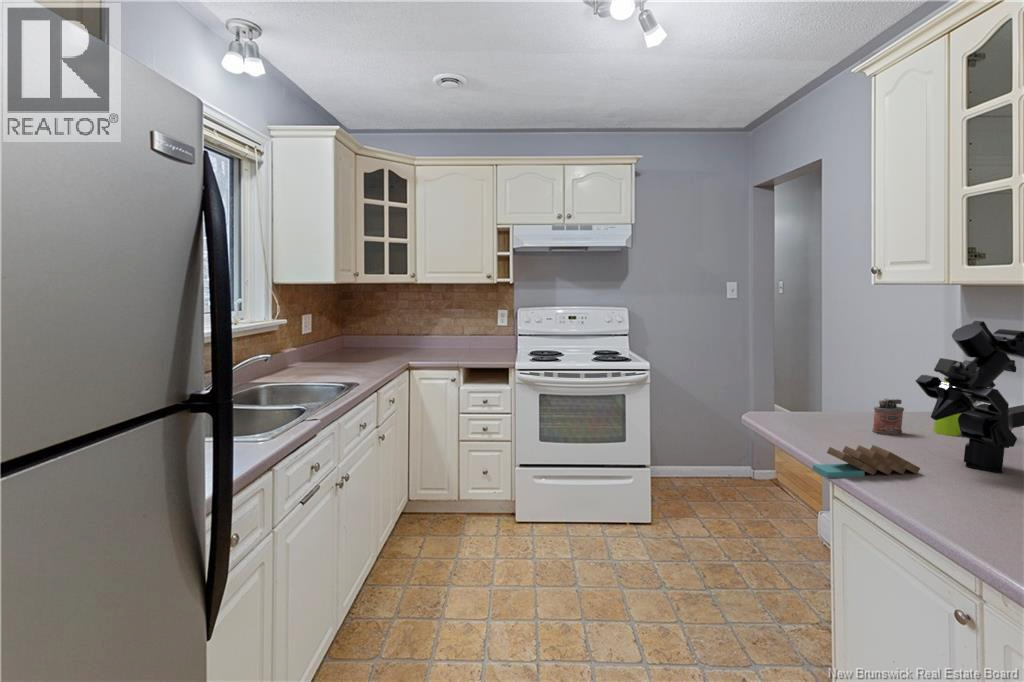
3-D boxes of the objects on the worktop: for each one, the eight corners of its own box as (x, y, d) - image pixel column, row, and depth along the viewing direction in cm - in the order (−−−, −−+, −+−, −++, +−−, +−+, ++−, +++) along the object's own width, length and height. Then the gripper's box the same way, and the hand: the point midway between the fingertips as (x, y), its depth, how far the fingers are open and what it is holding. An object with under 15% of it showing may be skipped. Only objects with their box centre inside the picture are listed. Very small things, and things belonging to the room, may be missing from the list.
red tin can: (877, 434, 153) (880, 400, 151) (869, 431, 156) (871, 397, 155) (905, 434, 153) (908, 400, 152) (896, 431, 156) (899, 397, 155)
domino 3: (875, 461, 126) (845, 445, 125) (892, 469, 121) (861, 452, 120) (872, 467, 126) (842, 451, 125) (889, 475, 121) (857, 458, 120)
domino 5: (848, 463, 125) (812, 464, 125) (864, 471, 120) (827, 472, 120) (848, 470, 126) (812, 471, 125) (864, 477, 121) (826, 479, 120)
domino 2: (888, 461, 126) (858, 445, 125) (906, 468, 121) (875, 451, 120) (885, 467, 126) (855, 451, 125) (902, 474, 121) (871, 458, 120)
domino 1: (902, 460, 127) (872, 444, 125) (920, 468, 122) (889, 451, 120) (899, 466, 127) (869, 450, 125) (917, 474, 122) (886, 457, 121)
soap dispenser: (935, 428, 159) (942, 361, 157) (964, 434, 153) (971, 365, 151) (925, 430, 156) (932, 363, 154) (954, 436, 150) (961, 366, 148)
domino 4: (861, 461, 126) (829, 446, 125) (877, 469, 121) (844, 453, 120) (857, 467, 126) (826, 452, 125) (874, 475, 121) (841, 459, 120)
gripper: (926, 342, 131) (881, 386, 131) (1003, 352, 113) (950, 404, 113) (952, 373, 133) (907, 417, 133) (1032, 389, 115) (979, 439, 115)
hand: (933, 418), depth 123 cm, fingers closed
